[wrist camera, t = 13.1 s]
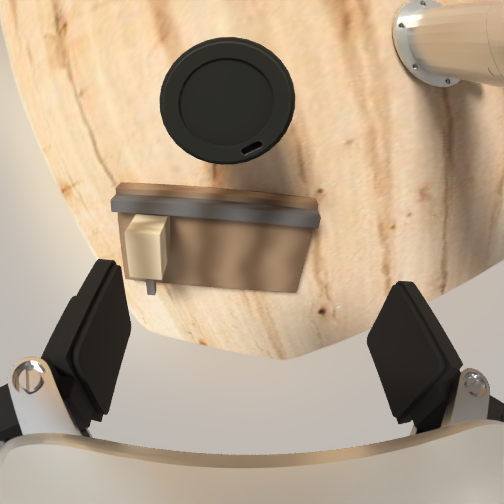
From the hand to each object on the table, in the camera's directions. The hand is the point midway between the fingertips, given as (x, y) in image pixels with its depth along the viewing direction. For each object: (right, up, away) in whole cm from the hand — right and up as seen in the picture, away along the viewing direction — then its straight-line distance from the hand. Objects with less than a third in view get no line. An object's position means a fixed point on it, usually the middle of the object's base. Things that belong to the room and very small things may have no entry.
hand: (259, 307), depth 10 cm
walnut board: (-5, +4, +31) cm, 32 cm away
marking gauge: (-13, +3, +29) cm, 32 cm away
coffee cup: (-3, +20, +21) cm, 29 cm away
